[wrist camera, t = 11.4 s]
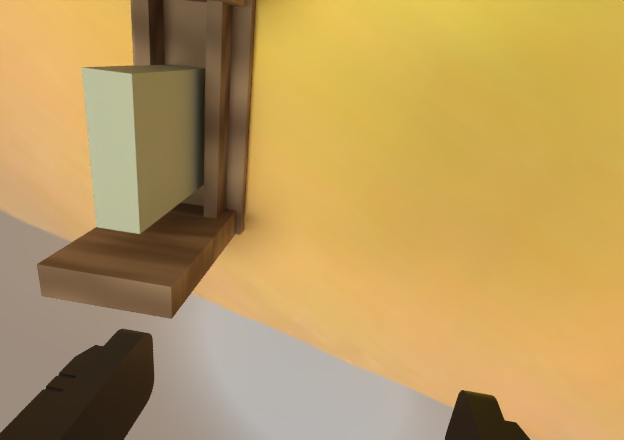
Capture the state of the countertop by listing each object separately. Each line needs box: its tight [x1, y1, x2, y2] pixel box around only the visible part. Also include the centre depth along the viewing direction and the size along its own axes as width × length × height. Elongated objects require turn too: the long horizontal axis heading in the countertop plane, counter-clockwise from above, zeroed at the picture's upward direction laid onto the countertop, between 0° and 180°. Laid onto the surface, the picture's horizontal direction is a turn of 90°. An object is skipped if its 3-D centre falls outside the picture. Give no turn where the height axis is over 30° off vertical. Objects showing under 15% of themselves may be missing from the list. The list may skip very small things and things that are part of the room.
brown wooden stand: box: [37, 0, 256, 318], centre depth 30 cm, size 22×10×15 cm, turn 174°
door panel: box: [82, 64, 206, 234], centre depth 31 cm, size 10×4×12 cm, turn 174°
